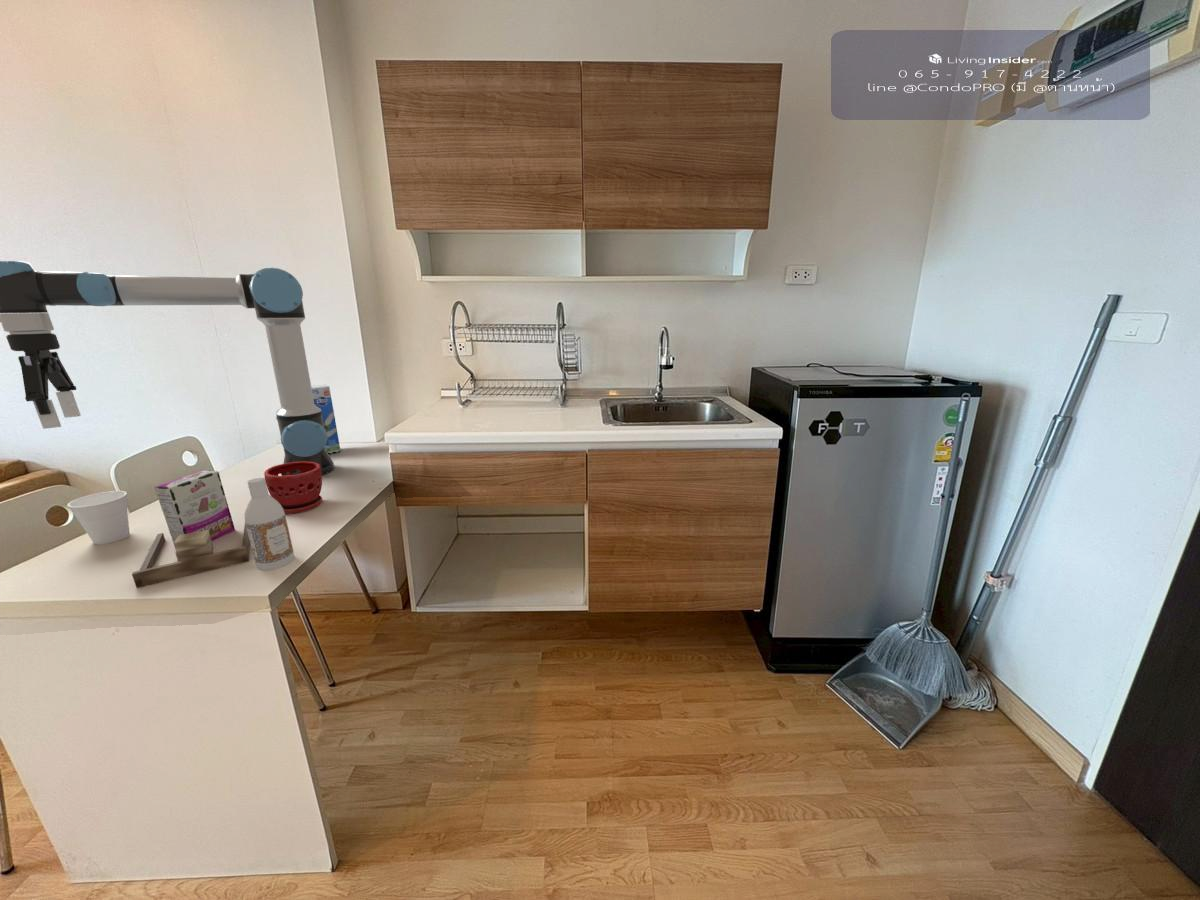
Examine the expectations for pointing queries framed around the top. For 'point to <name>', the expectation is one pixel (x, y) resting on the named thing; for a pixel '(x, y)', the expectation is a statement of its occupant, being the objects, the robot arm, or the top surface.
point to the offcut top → (192, 540)
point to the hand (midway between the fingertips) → (63, 422)
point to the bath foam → (267, 528)
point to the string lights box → (327, 416)
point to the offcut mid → (195, 552)
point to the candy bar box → (195, 505)
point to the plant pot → (295, 486)
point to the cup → (103, 516)
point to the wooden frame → (187, 563)
